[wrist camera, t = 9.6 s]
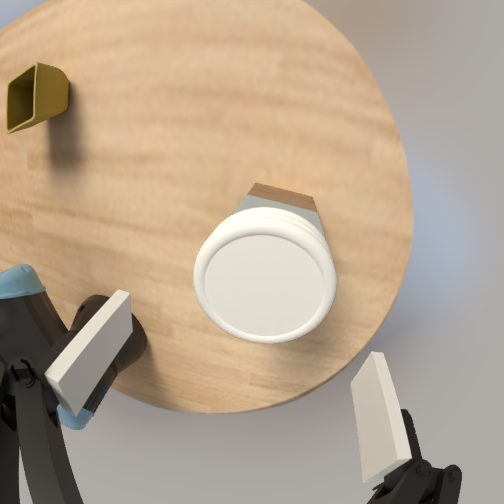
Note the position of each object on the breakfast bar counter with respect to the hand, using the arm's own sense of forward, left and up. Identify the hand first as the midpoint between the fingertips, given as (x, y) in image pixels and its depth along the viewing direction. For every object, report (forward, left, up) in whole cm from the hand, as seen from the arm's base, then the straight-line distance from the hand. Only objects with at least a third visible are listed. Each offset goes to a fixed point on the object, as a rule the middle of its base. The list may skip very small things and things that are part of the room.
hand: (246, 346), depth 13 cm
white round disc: (0, 0, -9) cm, 9 cm away
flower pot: (+13, +38, -23) cm, 46 cm away
